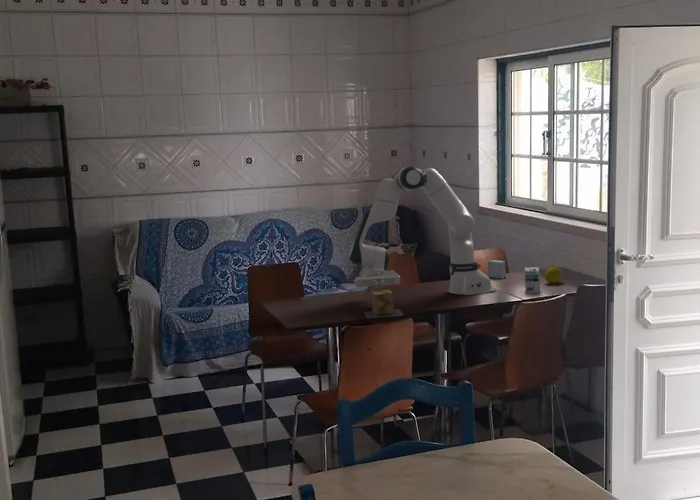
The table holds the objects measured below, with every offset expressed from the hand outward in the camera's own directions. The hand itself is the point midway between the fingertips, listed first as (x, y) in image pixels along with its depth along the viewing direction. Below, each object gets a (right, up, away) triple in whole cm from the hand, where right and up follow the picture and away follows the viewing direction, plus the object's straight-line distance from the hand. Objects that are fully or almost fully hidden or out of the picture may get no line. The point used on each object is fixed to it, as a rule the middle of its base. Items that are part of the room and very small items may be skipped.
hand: (380, 283), depth 342 cm
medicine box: (+63, 0, +61) cm, 88 cm away
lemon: (+87, -2, +39) cm, 95 cm away
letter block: (+1, -3, -4) cm, 5 cm away
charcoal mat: (+1, -13, -4) cm, 14 cm away
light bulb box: (+72, -5, +23) cm, 76 cm away
